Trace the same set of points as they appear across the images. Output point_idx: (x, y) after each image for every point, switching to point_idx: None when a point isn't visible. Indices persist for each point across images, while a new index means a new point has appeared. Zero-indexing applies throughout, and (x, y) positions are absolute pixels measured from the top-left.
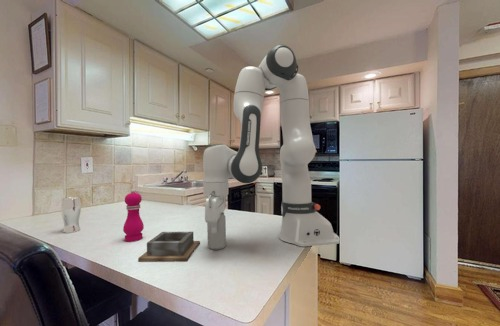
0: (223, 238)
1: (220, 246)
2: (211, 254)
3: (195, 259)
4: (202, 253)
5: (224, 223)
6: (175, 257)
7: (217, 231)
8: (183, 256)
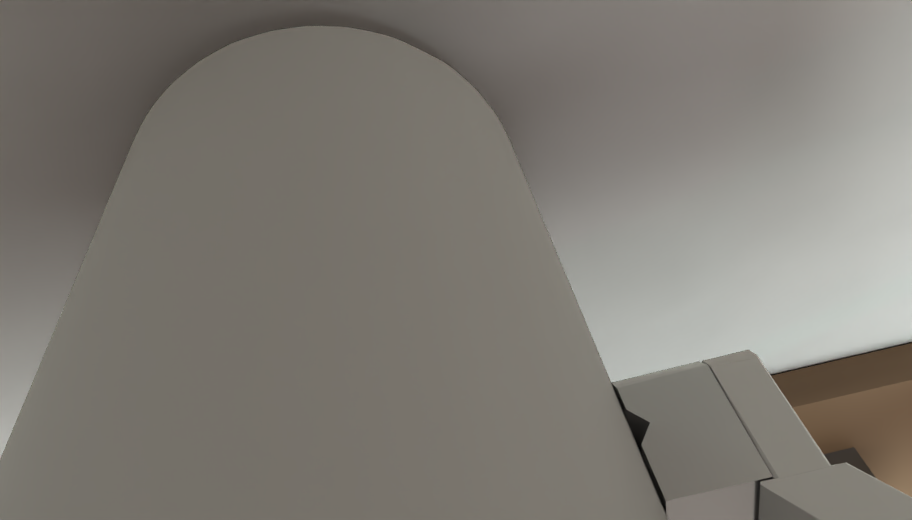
0: (416, 120)
1: (473, 93)
2: (685, 141)
3: (863, 278)
4: (647, 289)
5: (378, 423)
6: (900, 486)
7: (600, 367)
8: (885, 430)
